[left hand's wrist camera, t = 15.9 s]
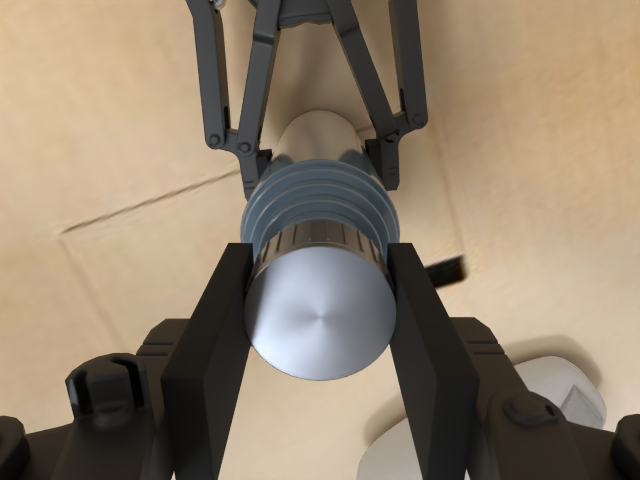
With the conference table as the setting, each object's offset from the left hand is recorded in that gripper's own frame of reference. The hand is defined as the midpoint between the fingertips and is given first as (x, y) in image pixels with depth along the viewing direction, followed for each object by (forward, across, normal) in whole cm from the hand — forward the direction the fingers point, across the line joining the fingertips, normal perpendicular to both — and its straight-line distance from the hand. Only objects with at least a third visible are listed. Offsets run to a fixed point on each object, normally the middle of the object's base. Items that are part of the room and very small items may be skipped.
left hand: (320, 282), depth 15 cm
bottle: (+23, 0, 0) cm, 23 cm away
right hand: (+17, 0, -5) cm, 17 cm away
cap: (-2, 0, 0) cm, 2 cm away
